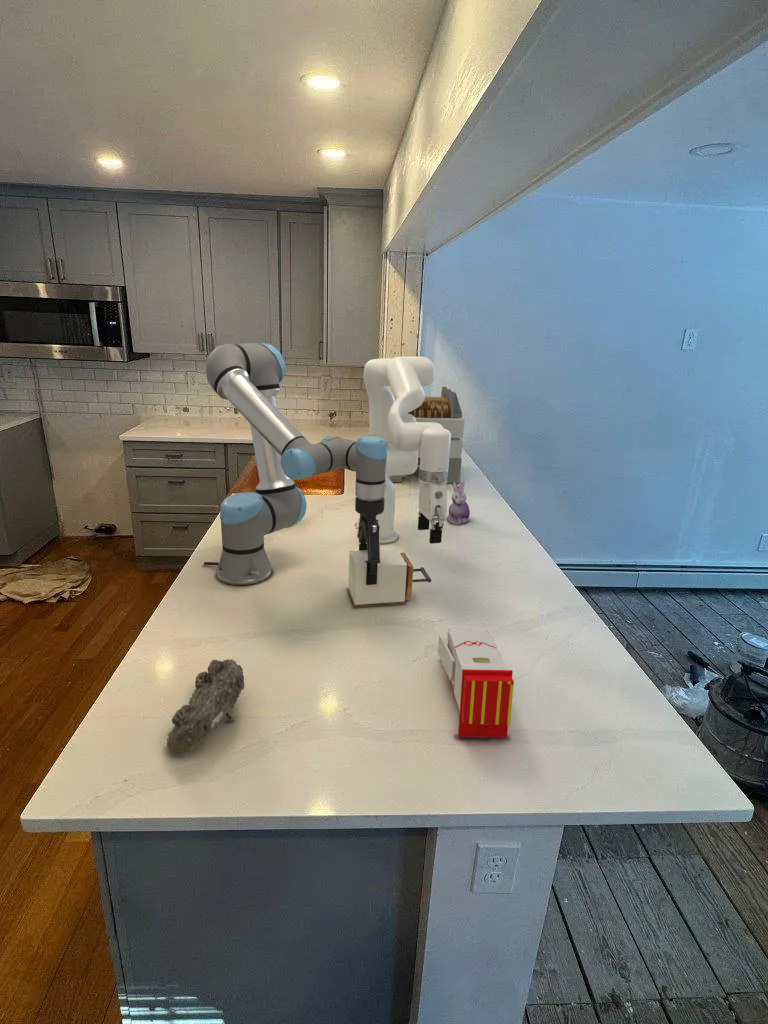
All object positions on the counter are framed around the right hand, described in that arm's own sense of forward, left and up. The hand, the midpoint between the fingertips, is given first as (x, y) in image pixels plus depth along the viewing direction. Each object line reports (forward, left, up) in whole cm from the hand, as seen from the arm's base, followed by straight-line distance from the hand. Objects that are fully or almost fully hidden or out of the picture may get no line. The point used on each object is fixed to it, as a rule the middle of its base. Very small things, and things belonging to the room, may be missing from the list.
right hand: (429, 536), depth 154 cm
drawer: (-7, -5, -16) cm, 18 cm away
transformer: (-30, +118, -17) cm, 123 cm away
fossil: (-27, -65, -17) cm, 72 cm away
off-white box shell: (-12, -8, -17) cm, 22 cm away
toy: (+19, -41, -17) cm, 48 cm away
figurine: (-1, +60, -17) cm, 63 cm away
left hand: (-14, -9, -10) cm, 20 cm away
